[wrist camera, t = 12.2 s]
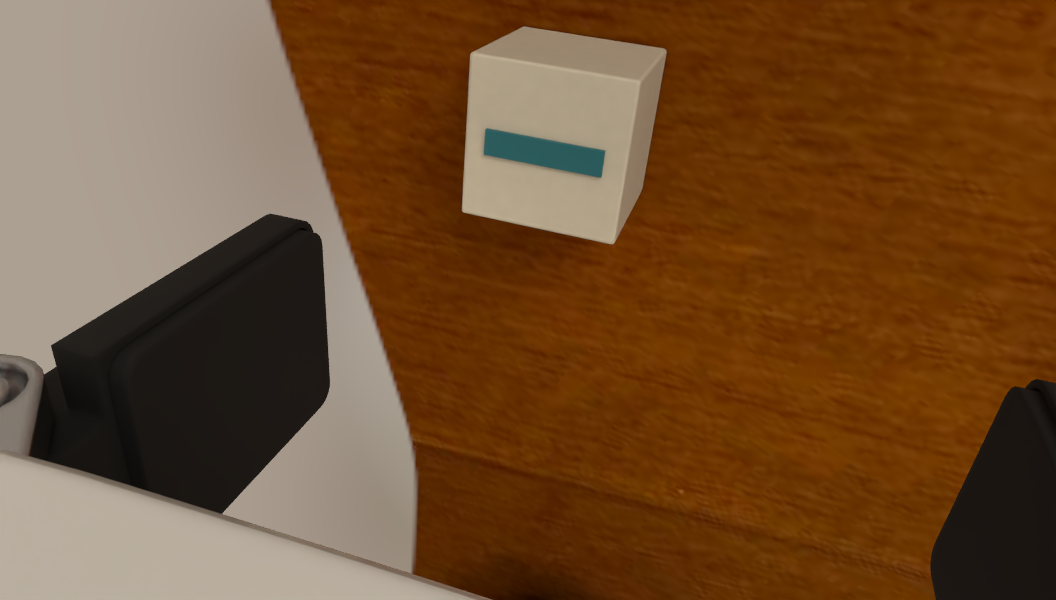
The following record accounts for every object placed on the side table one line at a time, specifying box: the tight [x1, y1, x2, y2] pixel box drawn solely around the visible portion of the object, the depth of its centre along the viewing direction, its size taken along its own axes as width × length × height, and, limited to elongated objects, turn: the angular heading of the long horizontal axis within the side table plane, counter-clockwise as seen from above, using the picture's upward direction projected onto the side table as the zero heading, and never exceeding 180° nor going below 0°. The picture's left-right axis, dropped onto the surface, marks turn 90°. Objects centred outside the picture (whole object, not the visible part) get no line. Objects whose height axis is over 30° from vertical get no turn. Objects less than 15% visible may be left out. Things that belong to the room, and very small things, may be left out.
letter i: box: [462, 27, 667, 244], centre depth 22 cm, size 4×4×4 cm
